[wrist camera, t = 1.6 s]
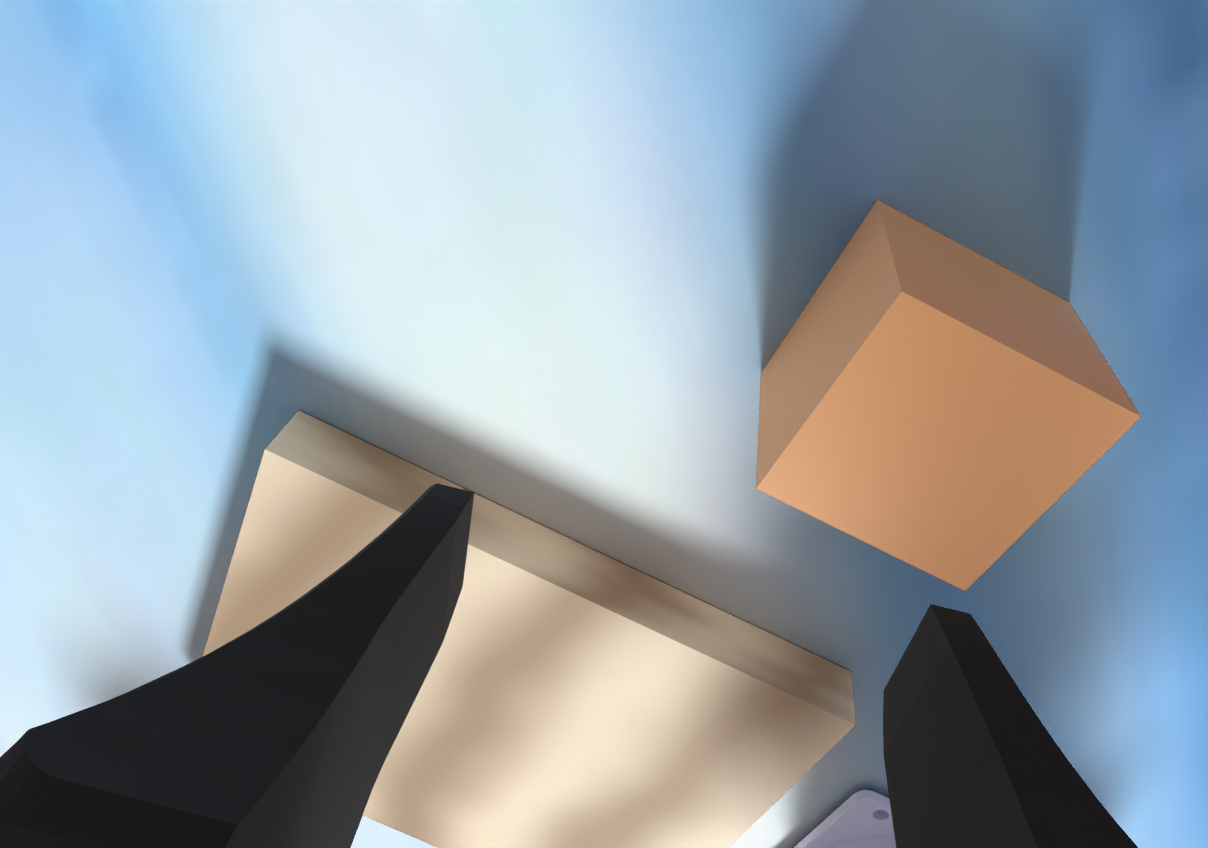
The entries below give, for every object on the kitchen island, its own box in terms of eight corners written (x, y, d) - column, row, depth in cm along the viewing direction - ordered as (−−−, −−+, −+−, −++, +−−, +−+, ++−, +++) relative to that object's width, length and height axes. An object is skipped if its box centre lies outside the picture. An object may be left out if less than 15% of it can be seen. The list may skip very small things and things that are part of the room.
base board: (851, 671, 27) (856, 725, 26) (646, 882, 35) (639, 933, 33) (298, 410, 26) (264, 449, 24) (208, 691, 33) (178, 736, 32)
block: (1068, 300, 21) (1141, 416, 16) (932, 457, 23) (964, 590, 19) (876, 198, 20) (901, 291, 16) (761, 371, 23) (756, 488, 19)
